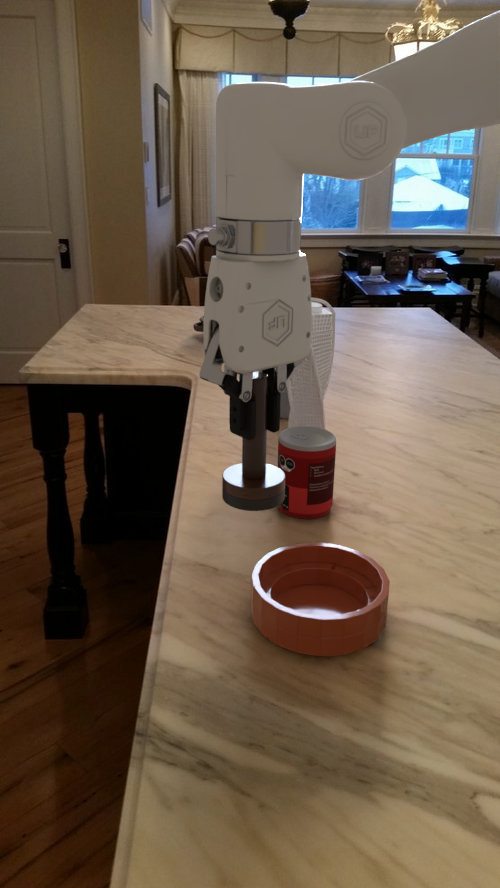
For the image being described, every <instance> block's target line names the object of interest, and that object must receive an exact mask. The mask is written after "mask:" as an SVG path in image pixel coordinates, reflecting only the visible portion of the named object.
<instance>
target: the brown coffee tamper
mask: <svg viewBox="0 0 500 888" xmlns="http://www.w3.org/2000/svg"><path fill="white" fill-rule="evenodd" d="M251 399H252V400H255V401H256V436H255V438H254V439H252V440H247V439H244V438H242V437H241V438H242V440H241V441H242V443H241V444H242V445H241V446H242V447H241V448H242V450H241V452H242V453H241V454H242V455H241V458H242V459H241V463H236V464H232V465H230V466H228V467H227V468H226V469H224V471H222V474H221V475H222V476H221V477H222V478H221V479H222V480H221V481H222V482H221V483H222V484H221V485H222V486H221V488H222V491H221V493H222V494H221V496H222V500H223V502H224V503H225V504H226V505H228V506H229V507H232V508H234V509H237V510H240V511H247V512H262V511H269V510H272V509H275V508H277V507H279V505H280V504H282V502H283V501H284V499H285V473H284V472H283V470H281V469H280V468H278V466H276V465H273V464H270V463H267V441H268V440H267V439H268V438H267V437H268V434H267V433H268V430H267V402H268V375H267V374H266V373H262V372H259V371H256V372H253V380H252V396H251Z"/></svg>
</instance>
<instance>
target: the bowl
mask: <svg viewBox="0 0 500 888" xmlns="http://www.w3.org/2000/svg"><path fill="white" fill-rule="evenodd" d="M390 583H391V582H390V578H389V577H388V575H387V573H386V571H385V569H384V567H382V566H381V565H380V564H379V563H378V562H377V561H376V560H375V559H374V558H372V557H370V556H369V555H366V554H365V553H363V552H361V551H359V550H357V549H354V548H350V547H347V546H345V545H344V546H343V545H340V544H335V543H328V542H327V543H326V542H319V541H317V542H298V543H294V544H289V545H284V546H281V547H278V548H276V549H274V550H272V551H270V552H266V554H264V555H263V556H262V557H261V558H260V559H259V560H258V561H256V563H255V565H254V567H253V570H252V572H251V575H250V612H251V618H252V619H251V620H252V622H253V623H254V625H255V626H256V628H257V629H258V631H259V632H260V633H261V635H263V636H264V637H265V638H267V639H268V640H269V641H271V642H272V643H274V644H275V645H277V646H279V647H282V648H285V649H286V650H287V649H288V650H290V651H292V652H295V653H298V654H302V655H303V654H305V655H309V656H317V657H328V656H329V657H330V656H331V657H333V656H343V655H346V654H351V653H355V652H357V651H360V650H364V649H365V648H366V647H368V646H369V645H372V643H374V642H376V641H377V640H378V639H379V638H380V636H381V634H382V633H383V632H384V630H385V628H386V624H387V623H386V622H387V616H388V615H387V614H388V606H389V605H388V604H389V596H390Z"/></svg>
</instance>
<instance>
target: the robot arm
mask: <svg viewBox="0 0 500 888" xmlns="http://www.w3.org/2000/svg"><path fill="white" fill-rule="evenodd" d="M497 125H500V9H499V10H496V11H494V12H492V13H490V14H488V15H486V16H484V17H482V18H479V19H477V20H475V21H473V22H471V23H469V24H467V25H465V26H463V27H461V28H460V29H458V30H456V31H454V32H453V33H451V34H449V35H447V36H445V37H444V38H442V39H440V40H438V41H436V42H433V43H432V44H430V45H428V46H426V47H423V48H421V49H420V50H417V51H415V52H413V53H410V54H409V55H406V56H403V57H402V58H399V59H397V60H395V61H393V62H390V63H387V64H385V65H383V66H380V67H378V68H376V69H373V70H371V71H368V72H366V73H364V74H362V75H359V76H356V77H354V78H352V79H349V80H347V81H342V82H341V81H340V82H335V83H326V84H318V85H316V84H315V85H303V86H295V85H293V84H288V83H284V82H273V81H243V82H242V81H241V82H234V83H230V84H227V85H225V86H224V87H223V88H221V90H220V91H219V93H218V95H217V98H216V102H215V204H216V205H215V228H211V229H209V230H208V232H207V240H208V243H209V244H210V245H211V246H215V255H212V256H211V257H210V264H209V268H208V273H207V280H206V287H205V288H206V289H205V296H204V307H203V316H204V329H203V332H202V335H203V341H202V342H203V354H204V358H203V361H202V365H201V367H200V370H199V374H198V377H199V378H200V379H201V380H203V381H206V382H209V383H211V384H214V385H217V386H218V387H219V388H220V389H221V390H222V391H223V394H224V395H226V396H228V397H229V406H228V407H229V416H228V417H229V419H228V421H229V431H230V433H231V434H233V435H236V436H238V437H240V438H244V439H247V440H252V439H254V438H255V436H256V401H255V400H252V399H251V396H252V380H253V372H262V373H266V374H267V375H268V402H267V432H271V433H273V434H274V433H277V432H279V431H280V426H281V418H280V400H281V394H280V393H281V392H284V391H285V389H286V386H287V379H288V378H289V376H290V375H291V373H292V372H293V370H294V367H297V366H298V365H299V364H300V363H301V362H302V361H304V360H305V359H306V357H307V355H308V354H309V352H310V348H311V335H312V304H311V302H312V301H311V298H312V288H311V277H310V276H311V275H310V269H309V264H308V258H307V255H306V253H303V252H301V244H302V222H303V221H302V217H303V201H304V200H303V197H304V176H305V175H313V176H321V177H327V178H333V179H338V180H343V181H352V182H353V181H356V182H357V181H362V180H367V179H371V178H373V177H376V176H377V175H380V174H382V173H383V172H384V171H385V170H387V169H388V168H389V167H390V166H391V165H392V164H393V163H394V162H395V161H396V160H397V159H398V157H399V155H400V153H401V151H402V150H403V149H405V148H408V147H411V146H414V145H417V144H420V143H422V142H425V141H429V140H432V139H435V138H438V137H441V136H445V135H448V134H454V133H458V132H463V131H470V130H475V129H482V128H487V127H492V126H497ZM223 364H224V366H223ZM222 367H223V369H224V370H222ZM238 375H239V376H238Z"/></svg>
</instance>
